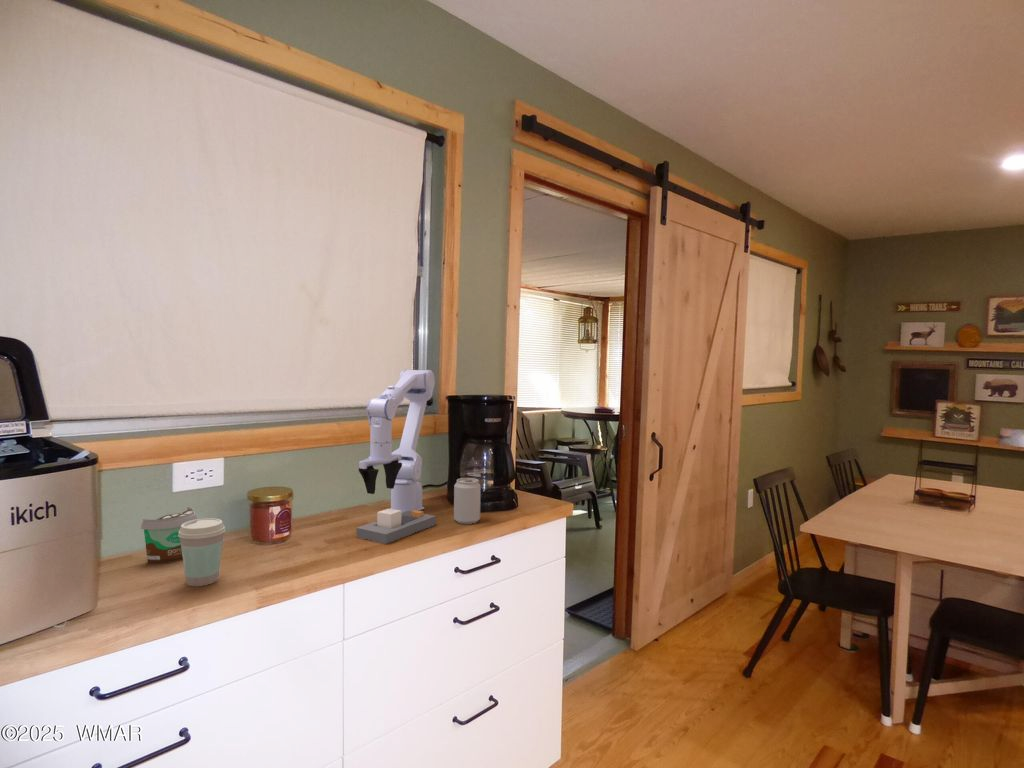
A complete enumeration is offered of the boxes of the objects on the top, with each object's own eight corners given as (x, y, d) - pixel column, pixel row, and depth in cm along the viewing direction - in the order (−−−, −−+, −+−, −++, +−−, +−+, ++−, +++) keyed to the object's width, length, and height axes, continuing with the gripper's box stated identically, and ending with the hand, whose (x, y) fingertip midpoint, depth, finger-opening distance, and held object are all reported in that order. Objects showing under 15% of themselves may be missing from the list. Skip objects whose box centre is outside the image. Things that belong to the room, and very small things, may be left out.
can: (482, 518, 169) (483, 477, 169) (476, 525, 162) (477, 482, 161) (457, 516, 171) (458, 476, 170) (450, 523, 163) (451, 481, 163)
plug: (388, 530, 156) (388, 508, 156) (401, 533, 154) (401, 510, 154) (376, 534, 152) (377, 512, 152) (390, 537, 150) (390, 514, 150)
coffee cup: (205, 570, 125) (205, 515, 125) (235, 577, 122) (234, 520, 121) (168, 585, 117) (167, 526, 117) (199, 592, 114) (198, 531, 113)
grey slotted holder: (407, 519, 167) (407, 507, 167) (435, 524, 162) (435, 512, 162) (356, 537, 150) (356, 523, 150) (385, 544, 145) (385, 530, 145)
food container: (161, 568, 126) (161, 522, 126) (141, 564, 128) (140, 519, 128) (209, 551, 138) (209, 509, 137) (189, 547, 140) (189, 506, 139)
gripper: (388, 437, 169) (387, 484, 169) (350, 443, 156) (350, 493, 157) (406, 439, 165) (406, 487, 166) (370, 446, 153) (370, 497, 153)
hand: (380, 490), depth 161 cm, fingers open, 7 cm apart
